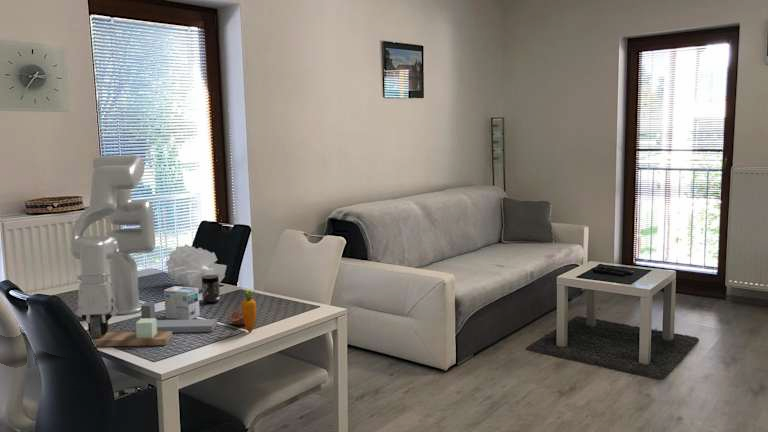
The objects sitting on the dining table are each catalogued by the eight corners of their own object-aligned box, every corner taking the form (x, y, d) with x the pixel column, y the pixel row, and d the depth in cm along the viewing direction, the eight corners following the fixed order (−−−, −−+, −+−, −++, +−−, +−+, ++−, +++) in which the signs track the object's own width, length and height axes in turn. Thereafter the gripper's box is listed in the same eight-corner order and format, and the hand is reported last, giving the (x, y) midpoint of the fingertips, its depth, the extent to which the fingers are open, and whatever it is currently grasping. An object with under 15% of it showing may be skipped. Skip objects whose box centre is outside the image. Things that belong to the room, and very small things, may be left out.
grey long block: (141, 332, 222) (139, 307, 221) (148, 325, 230) (147, 300, 229) (212, 331, 223) (211, 306, 222) (217, 324, 231) (216, 299, 230)
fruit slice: (254, 325, 231) (253, 311, 230) (237, 329, 226) (236, 315, 226) (242, 320, 237) (242, 307, 236) (225, 324, 232) (225, 310, 232)
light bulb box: (200, 315, 243) (199, 287, 242) (189, 320, 237) (188, 291, 235) (176, 313, 246) (174, 285, 245) (164, 318, 240) (163, 289, 239)
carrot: (243, 330, 225) (241, 287, 223) (258, 329, 225) (256, 287, 223) (241, 334, 220) (239, 291, 218) (256, 334, 221) (255, 291, 218)
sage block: (136, 338, 211) (135, 323, 210) (141, 333, 216) (140, 318, 215) (152, 337, 211) (151, 322, 210) (157, 332, 216) (156, 318, 215)
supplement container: (206, 299, 265) (205, 274, 264) (222, 299, 265) (221, 274, 263) (199, 304, 259) (198, 278, 257) (216, 304, 258) (215, 278, 256)
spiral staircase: (201, 303, 275) (173, 289, 293) (234, 279, 285) (205, 267, 302) (182, 268, 267) (155, 256, 284) (217, 244, 276) (189, 234, 294)
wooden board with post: (89, 346, 209) (87, 319, 208) (99, 338, 217) (97, 312, 216) (165, 345, 210) (163, 317, 209) (172, 337, 218) (171, 310, 217)
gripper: (63, 282, 206) (68, 338, 209) (116, 281, 207) (120, 337, 209) (73, 276, 214) (78, 330, 216) (124, 275, 214) (128, 329, 217)
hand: (98, 333), depth 213 cm, fingers closed on wooden board with post, 3 cm apart
